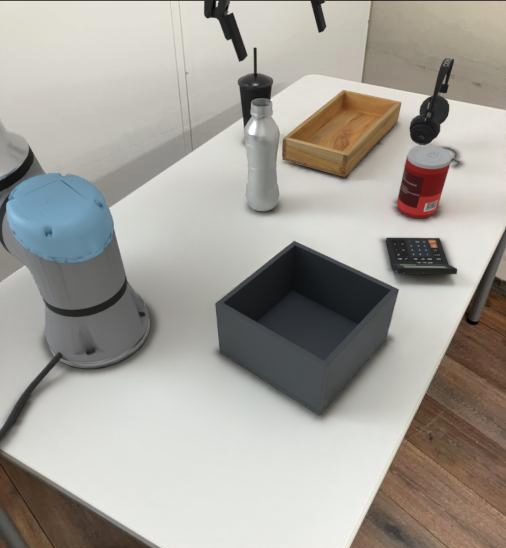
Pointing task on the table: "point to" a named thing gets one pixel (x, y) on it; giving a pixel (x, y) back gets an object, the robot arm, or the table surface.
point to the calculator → (418, 256)
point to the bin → (305, 323)
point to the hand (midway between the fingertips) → (281, 45)
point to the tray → (341, 132)
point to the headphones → (433, 109)
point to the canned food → (423, 180)
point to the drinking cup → (253, 89)
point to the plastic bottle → (262, 156)
